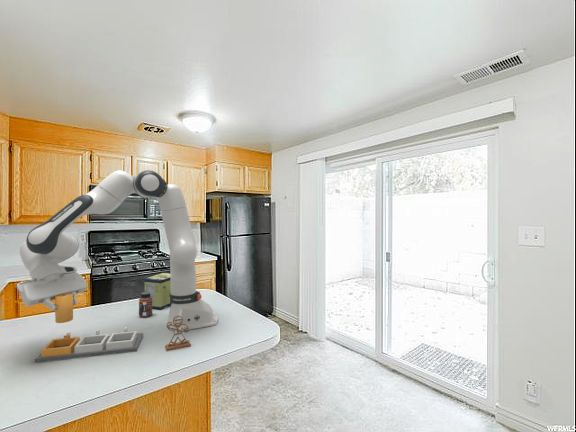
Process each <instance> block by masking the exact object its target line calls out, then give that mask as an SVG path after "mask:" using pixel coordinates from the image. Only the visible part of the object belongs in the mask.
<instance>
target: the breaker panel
mask: <svg viewBox="0 0 576 432" xmlns="http://www.w3.org/2000/svg"><path fill="white" fill-rule="evenodd" d="M128 328H129V327H127V326H125V327H124V329H123V332H115V333H114V332H113V333H112V334H111V335H110V334H109V333H108V334H107V333H105V334H104V333H103V334H101V333H100V332H101V331H100V330H101V329H96V331H95V335H86V336H85V335H84V336H82V337H80V336H74V337H71V332H68V331H67V332H66V334H65V335H63V338H54V339H52V340H50V341H49V342H48V343H47V344H46V345H45V346H44V347H43V348H42V349H41V352H40V354H38V355H37V356H36V357H35V358H34V359H33V360H34V364H35V363H44V362H52V361H60V360H61V361H62V360H71V359H80V358H88V357H96V356H107V355H116V354H124V353H133V352H138V349H139V346H140V344H141V342H142V339H143V337H144V333H143V332H138V331H135V330H134V331H128V330H129V329H128Z"/></svg>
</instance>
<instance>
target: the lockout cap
mask: <svg viewBox="0 0 576 432" xmlns="http://www.w3.org/2000/svg"><path fill="white" fill-rule="evenodd" d="M54 304H57V306H58V309H57V310H55V311H54V317H55V318H54V320H55V323H56V324H63V323H69V322H71V321H73V320H74V305H73V294H70V293H67V294H61V295H57V296H55V300H54Z"/></svg>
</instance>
